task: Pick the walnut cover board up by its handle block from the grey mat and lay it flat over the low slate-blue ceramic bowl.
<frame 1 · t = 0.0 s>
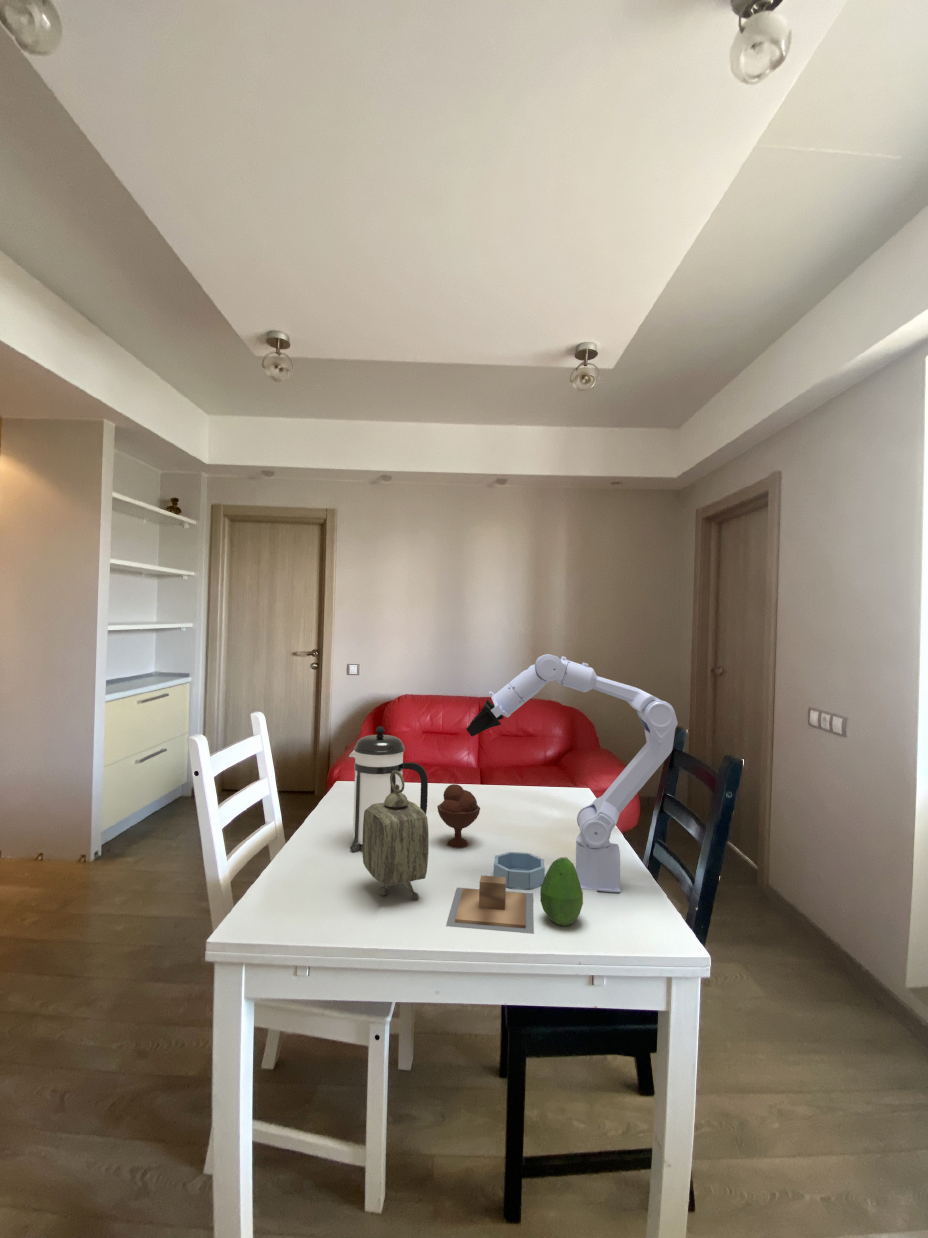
hand: (470, 730, 127), 32 cm above the table, tool tilted 50°, fingers open, 7 cm apart
ice cream bowl: (457, 844, 145), on the table
tabletop clock: (391, 894, 116), on the table
coffee press: (381, 845, 143), on the table
avocado: (560, 924, 106), on the table
mat: (492, 910, 110), on the table
bowl: (518, 880, 124), on the table
cover board: (492, 908, 110), resting on mat
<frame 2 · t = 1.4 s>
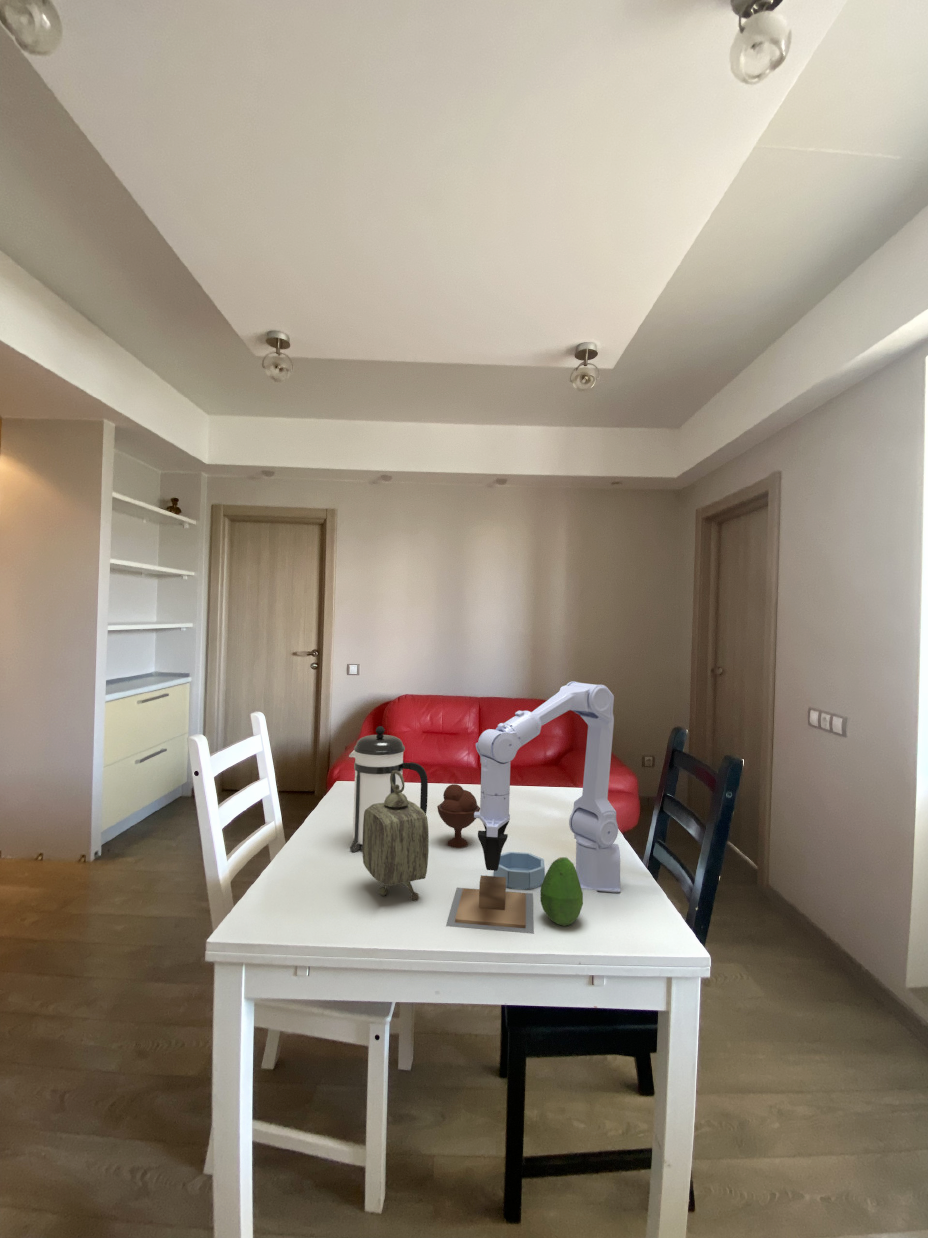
hand: (493, 861, 110), 9 cm above the table, tool pointing down, fingers open, 7 cm apart
nothing on the table moved.
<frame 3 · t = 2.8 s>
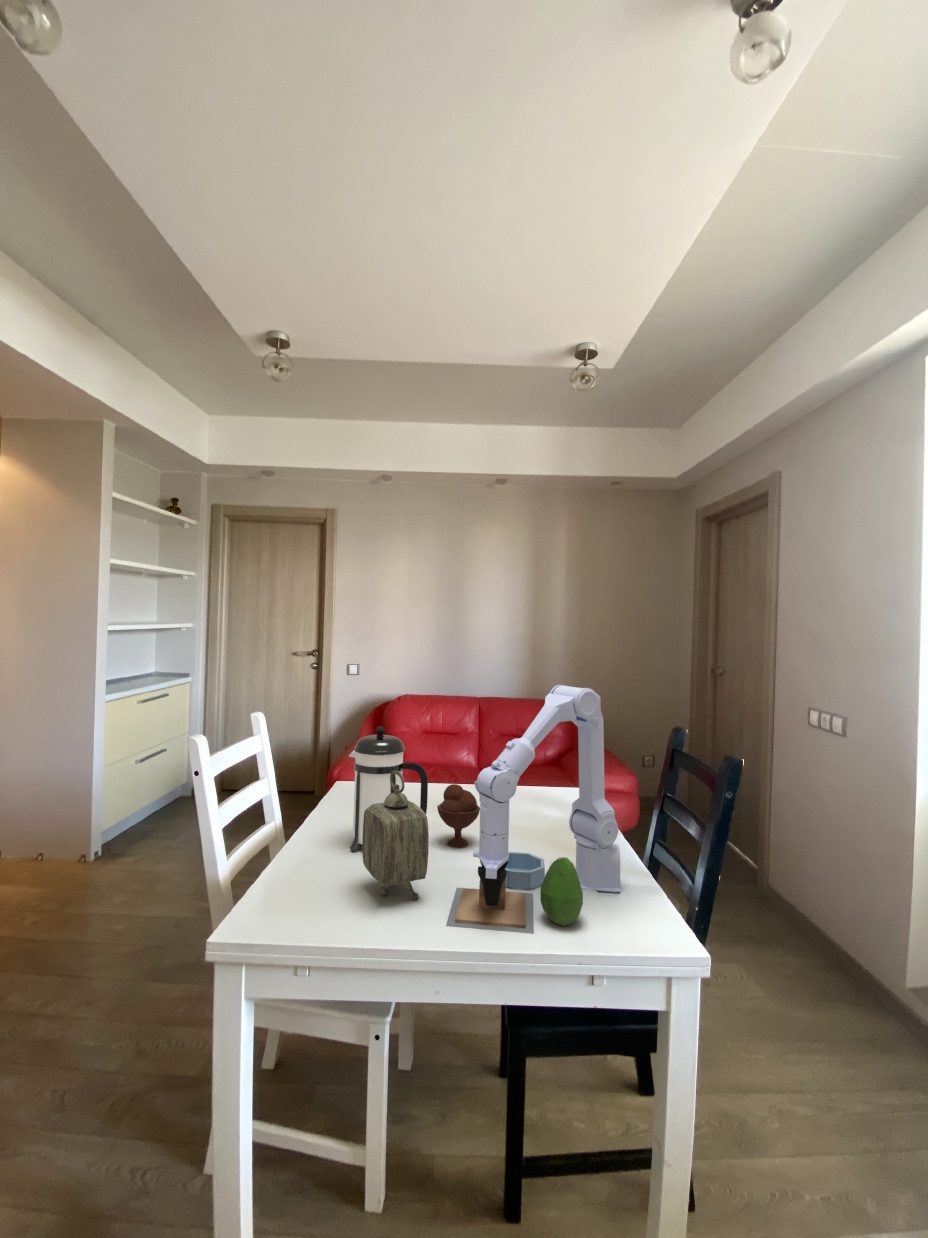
hand: (492, 901, 110), 2 cm above the table, tool pointing down, fingers closed on cover board, 3 cm apart
cover board: (492, 908, 110), resting on mat, touching gripper
everything else where it was.
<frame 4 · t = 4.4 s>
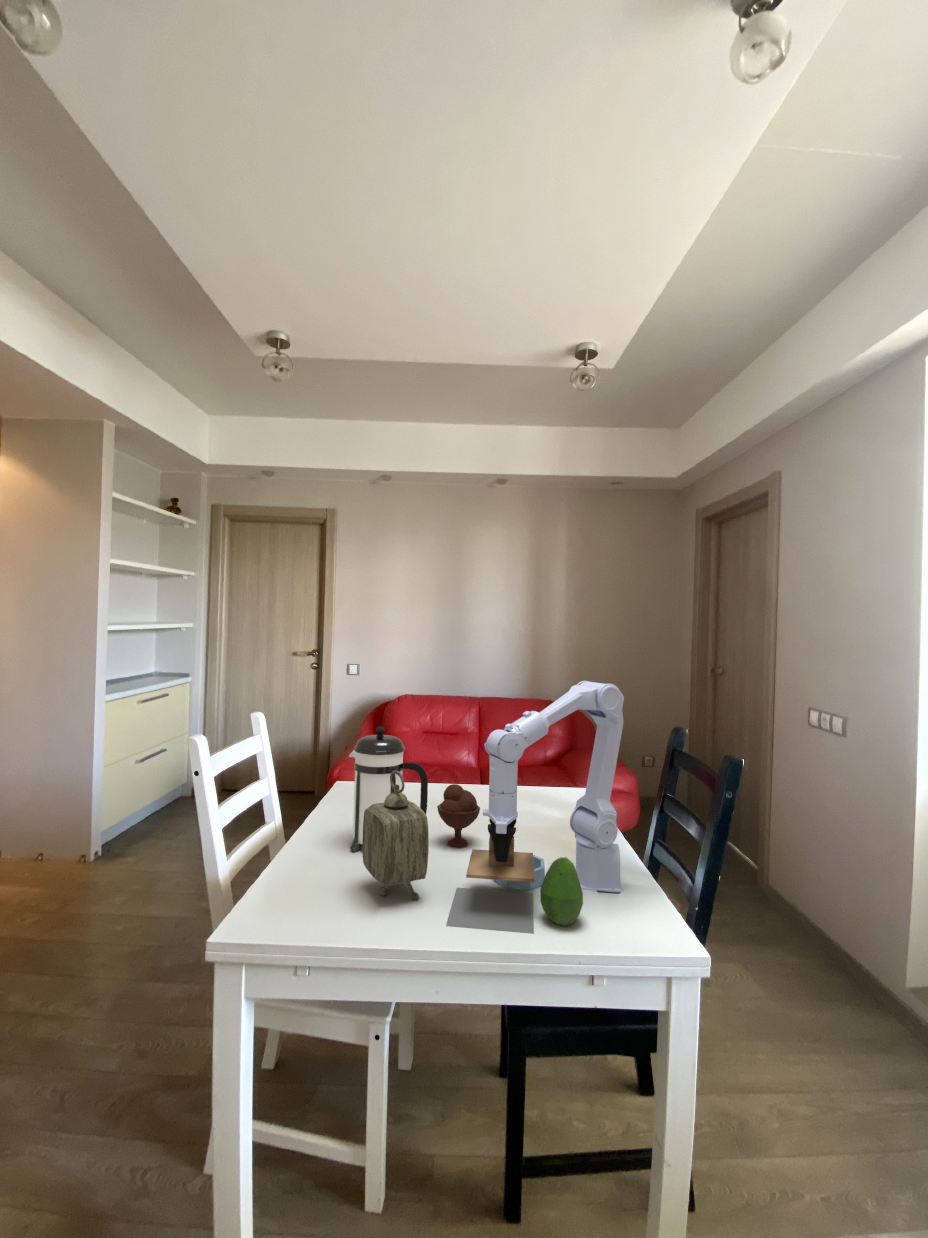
hand: (501, 857, 114), 9 cm above the table, tool pointing down, fingers closed on cover board, 3 cm apart
cover board: (501, 866, 114), point 7 cm above the table, touching gripper
everything else where it was.
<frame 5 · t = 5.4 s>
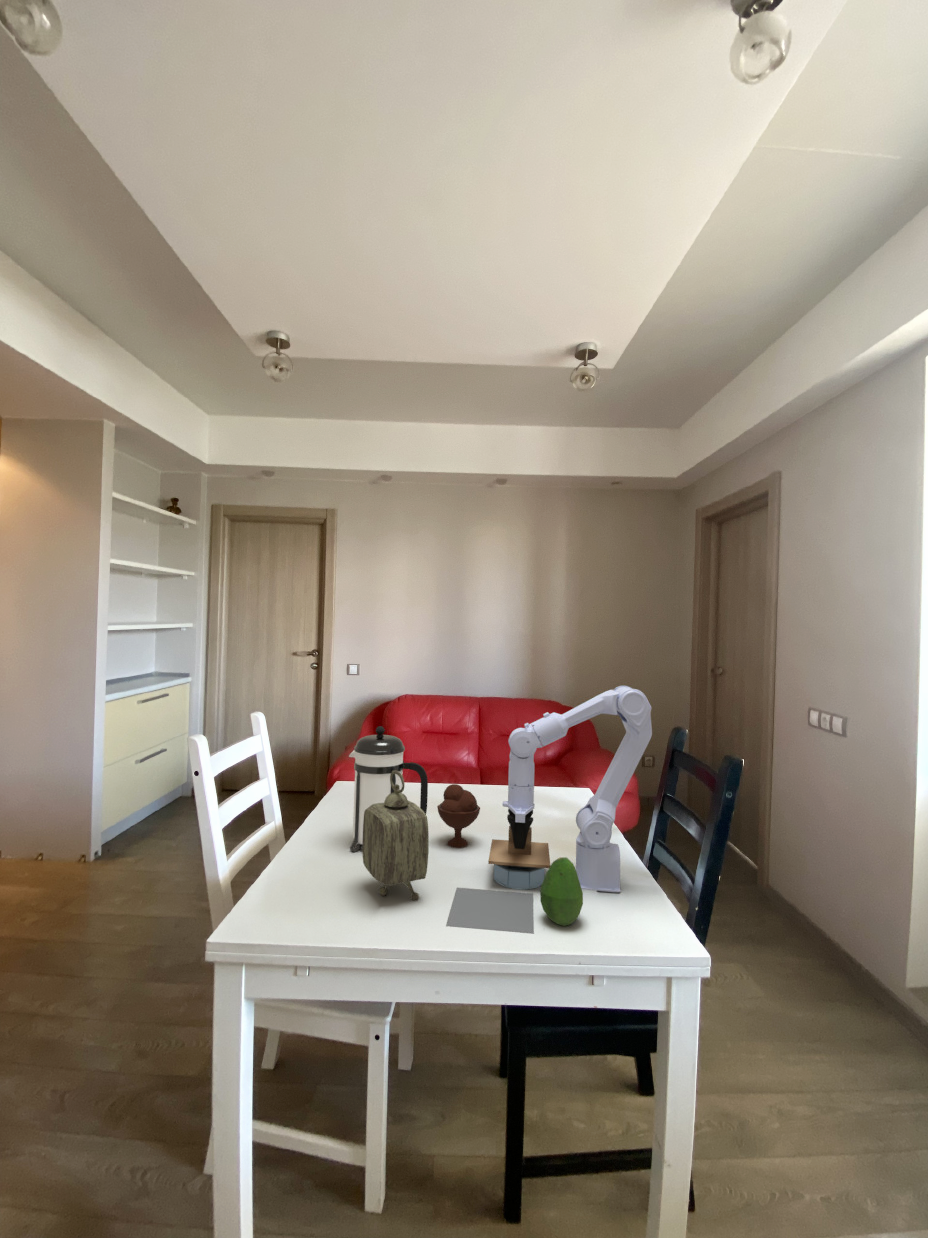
hand: (519, 845, 124), 8 cm above the table, tool pointing down, fingers closed on cover board, 3 cm apart
cover board: (519, 854, 124), point 6 cm above the table, touching gripper
everything else where it was.
when the fingers open (7 cm above the table, at t = 5.8 s): cover board stays where it is, resting on bowl.
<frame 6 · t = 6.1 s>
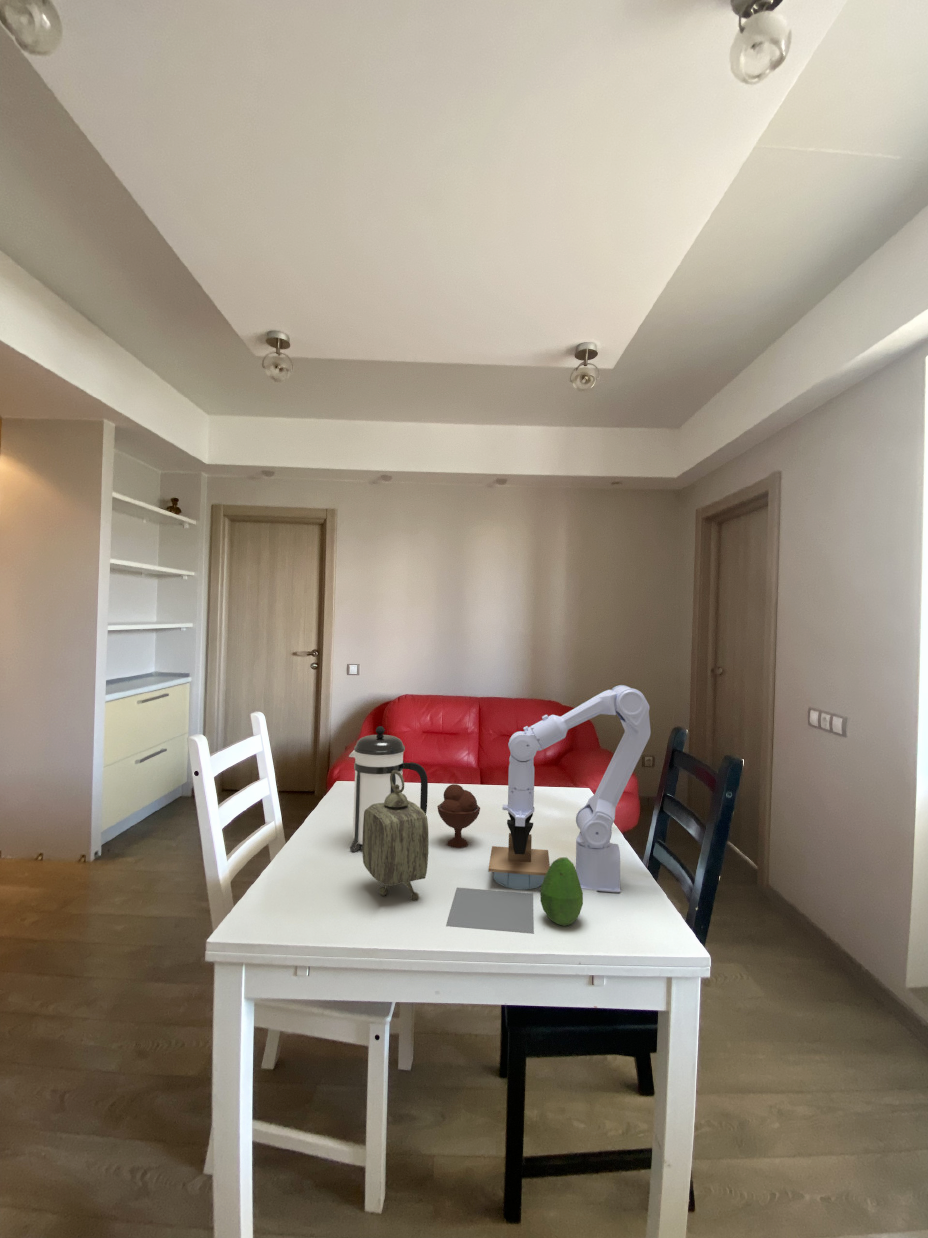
hand: (519, 849, 124), 7 cm above the table, tool pointing down, fingers open, 5 cm apart
cover board: (519, 861, 124), point 4 cm above the table, touching bowl
everything else where it was.
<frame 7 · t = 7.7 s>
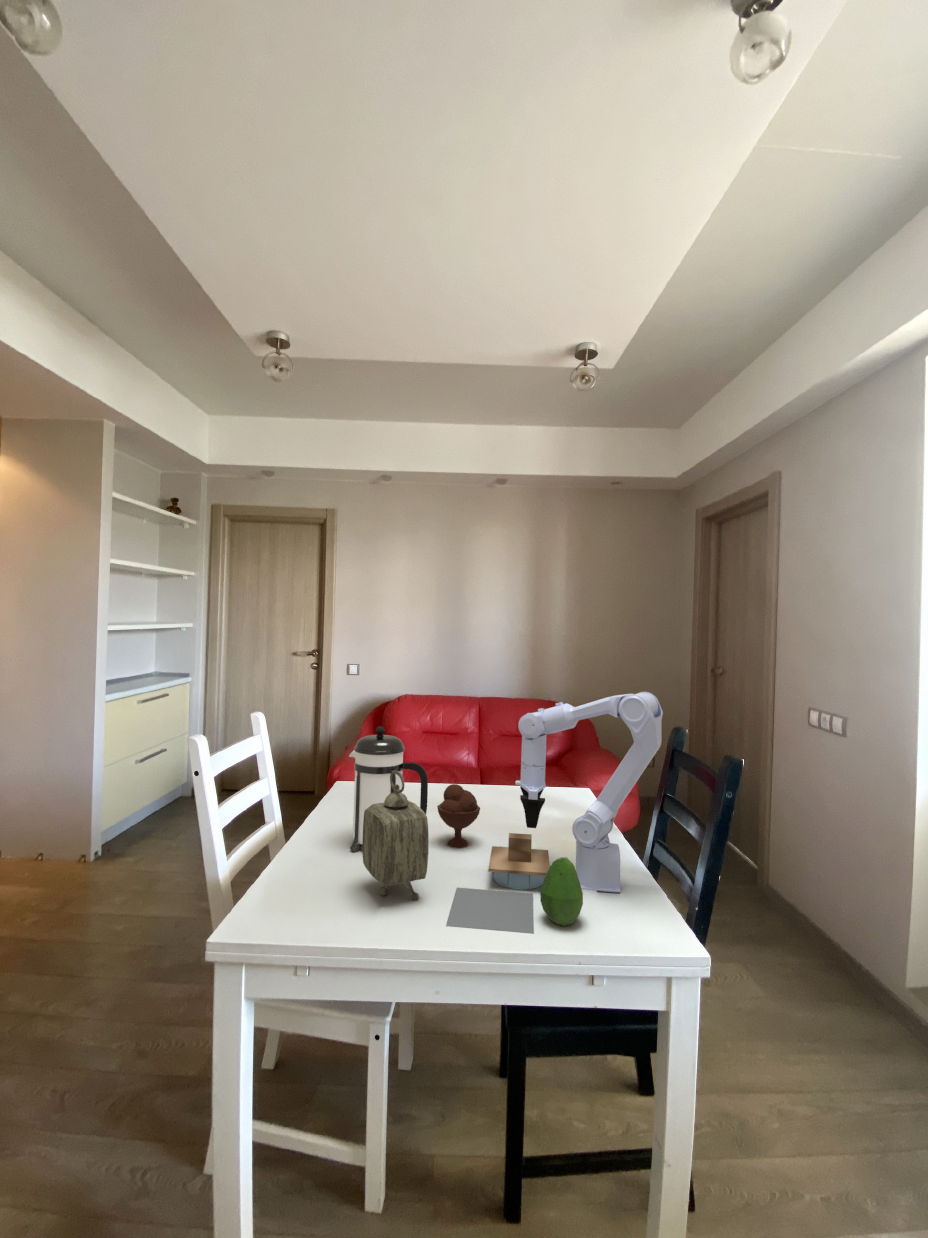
hand: (531, 822, 132), 10 cm above the table, tool pointing down, fingers open, 7 cm apart
nothing on the table moved.
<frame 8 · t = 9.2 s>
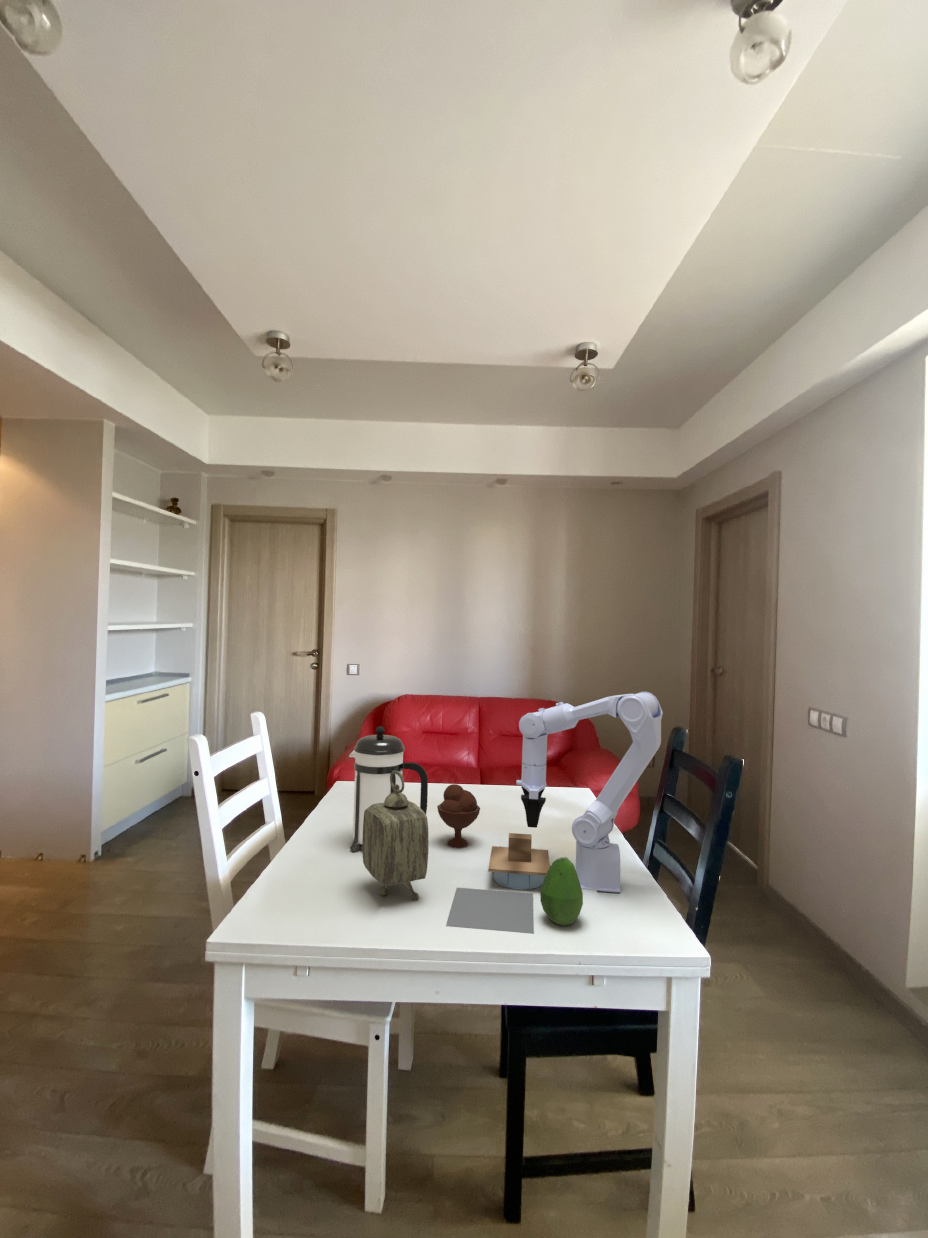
hand: (532, 821, 132), 10 cm above the table, tool pointing down, fingers open, 7 cm apart
nothing on the table moved.
at the end: cover board 0.0 cm off-centre on the bowl, point 4.0 cm above the bowl's base; cover board tilted 0°; the gripper is holding nothing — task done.
